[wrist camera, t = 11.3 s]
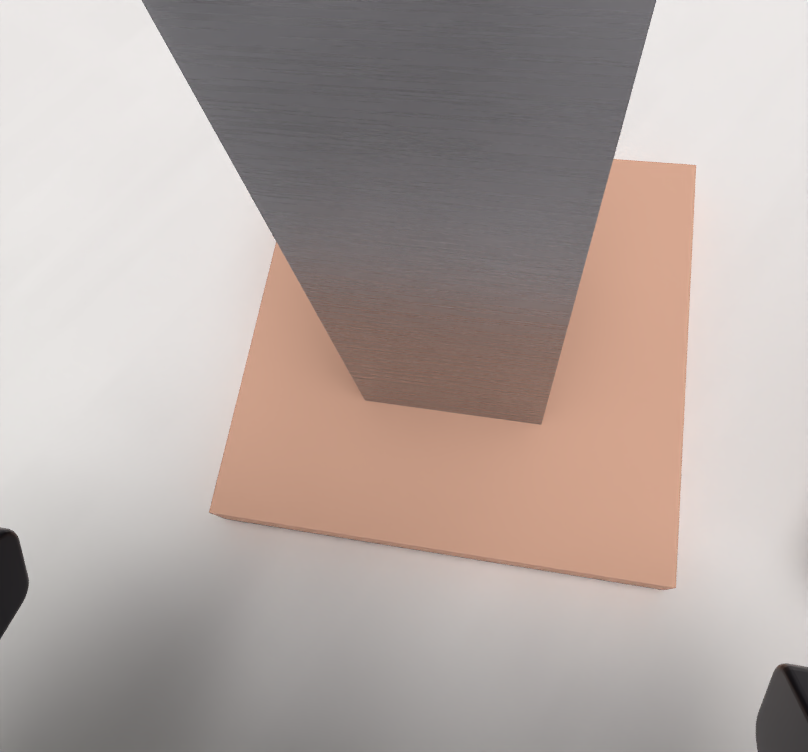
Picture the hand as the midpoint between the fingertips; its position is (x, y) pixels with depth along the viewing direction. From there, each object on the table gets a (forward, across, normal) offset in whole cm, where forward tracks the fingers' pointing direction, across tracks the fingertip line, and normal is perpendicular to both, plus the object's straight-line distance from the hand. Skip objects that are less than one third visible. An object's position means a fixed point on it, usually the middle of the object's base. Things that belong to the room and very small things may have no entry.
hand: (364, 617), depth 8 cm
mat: (+10, 0, +1) cm, 10 cm away
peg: (+9, 0, 0) cm, 9 cm away
